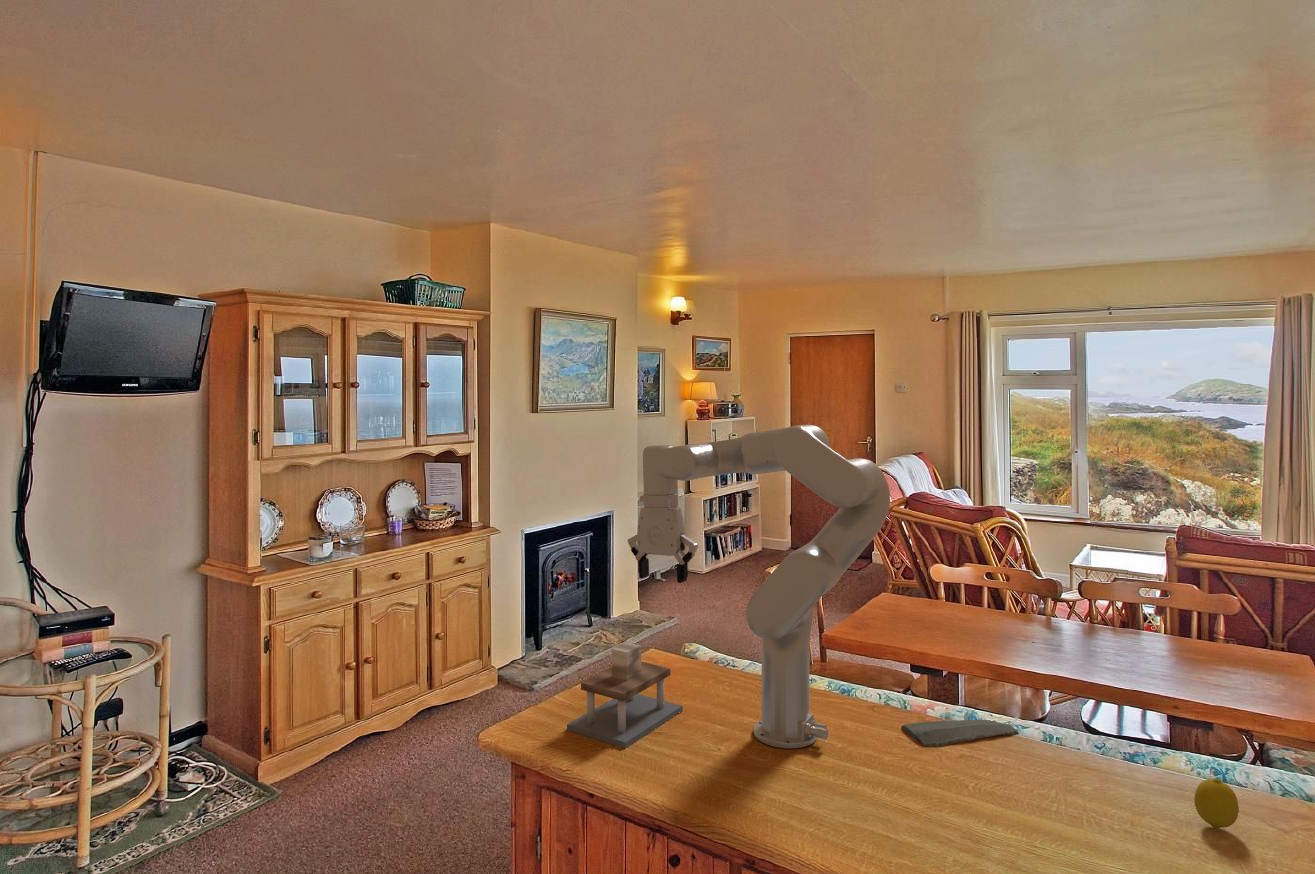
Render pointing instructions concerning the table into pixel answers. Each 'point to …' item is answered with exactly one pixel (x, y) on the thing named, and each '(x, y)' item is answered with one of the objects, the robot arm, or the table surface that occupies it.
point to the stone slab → (955, 731)
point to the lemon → (1216, 803)
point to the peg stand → (624, 718)
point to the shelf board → (625, 686)
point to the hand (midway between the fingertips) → (662, 579)
